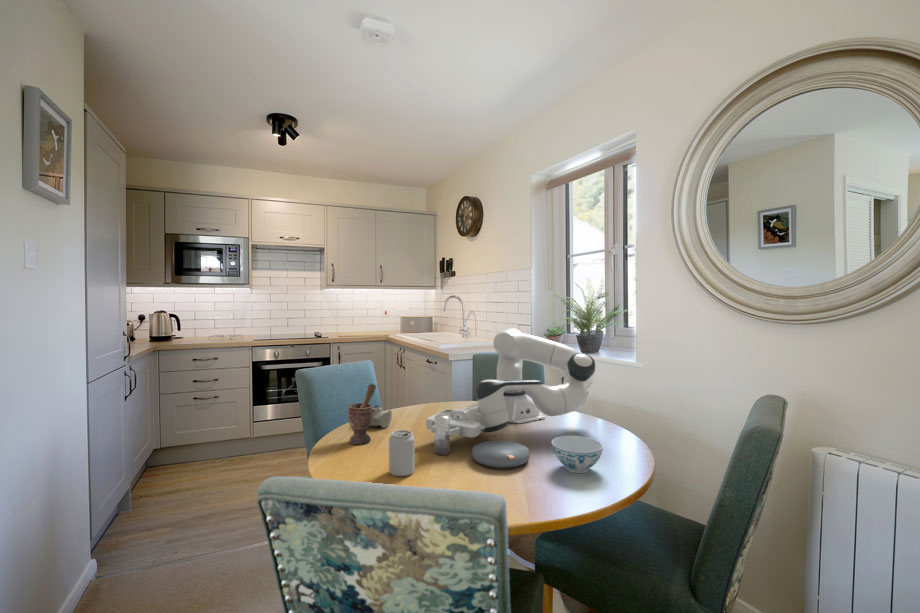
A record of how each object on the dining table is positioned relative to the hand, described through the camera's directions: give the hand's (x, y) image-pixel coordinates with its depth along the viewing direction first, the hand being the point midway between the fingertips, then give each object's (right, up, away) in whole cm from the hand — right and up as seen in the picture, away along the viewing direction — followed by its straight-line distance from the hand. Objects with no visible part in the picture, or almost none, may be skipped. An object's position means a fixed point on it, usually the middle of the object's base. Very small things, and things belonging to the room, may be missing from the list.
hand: (440, 431), depth 142 cm
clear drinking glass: (0, -7, +1) cm, 7 cm away
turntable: (+19, -6, -5) cm, 21 cm away
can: (-11, -8, -16) cm, 21 cm away
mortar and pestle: (-29, -7, +14) cm, 33 cm away
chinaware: (+42, -8, -12) cm, 44 cm away
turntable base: (+19, -7, -5) cm, 22 cm away
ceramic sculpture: (-28, -7, +32) cm, 43 cm away
